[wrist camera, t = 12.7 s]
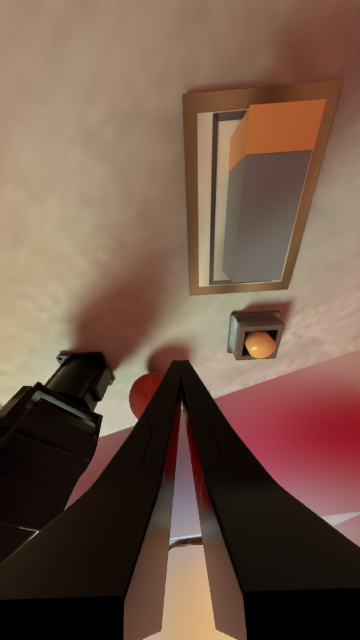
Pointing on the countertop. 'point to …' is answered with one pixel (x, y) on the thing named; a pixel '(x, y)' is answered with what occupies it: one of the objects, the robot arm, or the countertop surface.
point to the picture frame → (212, 176)
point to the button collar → (253, 323)
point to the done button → (259, 344)
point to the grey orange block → (267, 186)
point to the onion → (143, 392)
